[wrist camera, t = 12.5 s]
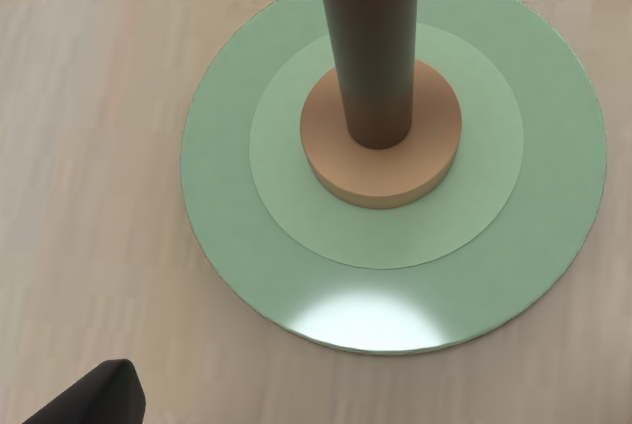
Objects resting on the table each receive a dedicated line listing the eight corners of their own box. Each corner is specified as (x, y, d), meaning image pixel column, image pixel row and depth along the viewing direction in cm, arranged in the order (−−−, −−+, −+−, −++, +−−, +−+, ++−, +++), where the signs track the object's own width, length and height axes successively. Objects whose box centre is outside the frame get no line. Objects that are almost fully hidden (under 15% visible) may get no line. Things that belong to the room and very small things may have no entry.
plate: (582, 399, 16) (595, 400, 15) (142, 310, 19) (126, 305, 18) (608, -3, 20) (619, -25, 19) (241, -28, 23) (233, -48, 22)
